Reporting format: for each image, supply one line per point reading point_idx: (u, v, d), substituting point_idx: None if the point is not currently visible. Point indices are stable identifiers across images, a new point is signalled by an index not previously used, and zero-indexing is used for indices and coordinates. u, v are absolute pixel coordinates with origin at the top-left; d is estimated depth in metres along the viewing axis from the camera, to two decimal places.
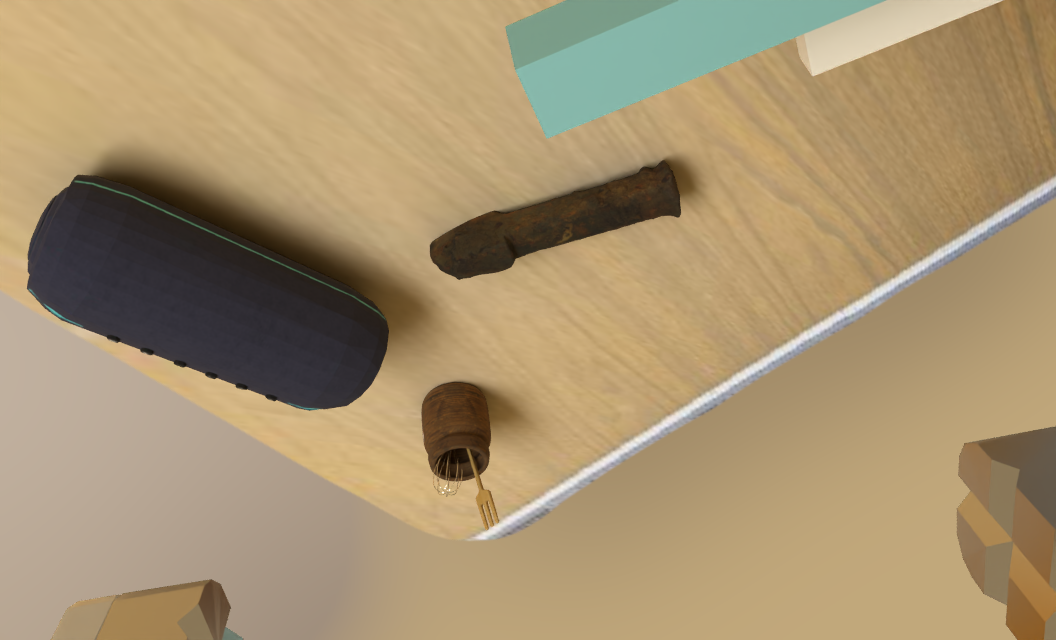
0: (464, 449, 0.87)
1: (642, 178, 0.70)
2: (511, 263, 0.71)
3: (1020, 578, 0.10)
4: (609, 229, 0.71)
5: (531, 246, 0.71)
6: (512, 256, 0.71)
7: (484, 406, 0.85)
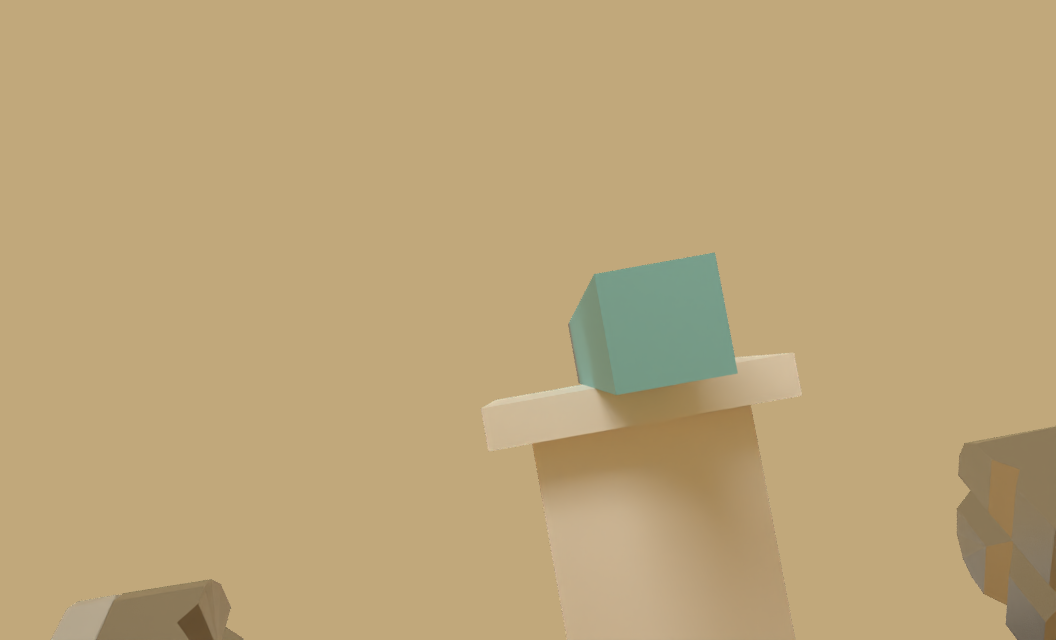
0: None
1: None
2: None
3: (1020, 578, 0.10)
4: None
5: None
6: None
7: None
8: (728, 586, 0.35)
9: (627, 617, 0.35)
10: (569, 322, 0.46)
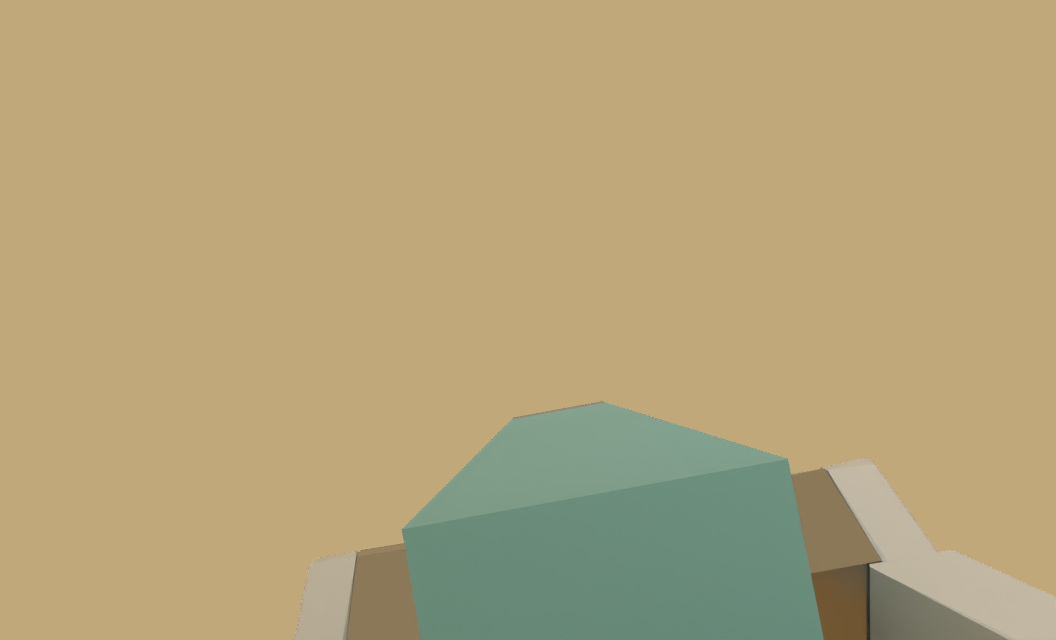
0: None
1: None
2: None
3: None
4: None
5: None
6: None
7: None
8: None
9: None
10: None
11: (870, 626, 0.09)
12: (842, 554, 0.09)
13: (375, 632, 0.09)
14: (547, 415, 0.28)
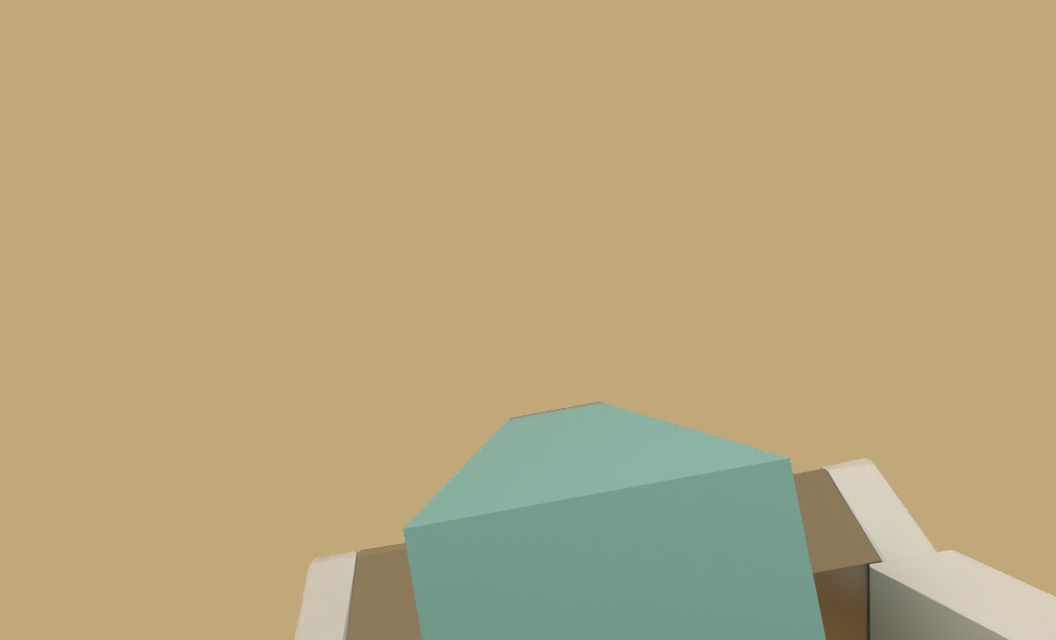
0: None
1: None
2: None
3: None
4: None
5: None
6: None
7: None
8: None
9: None
10: (507, 421, 0.30)
11: (870, 626, 0.09)
12: (842, 554, 0.09)
13: (375, 632, 0.09)
14: (544, 415, 0.28)
